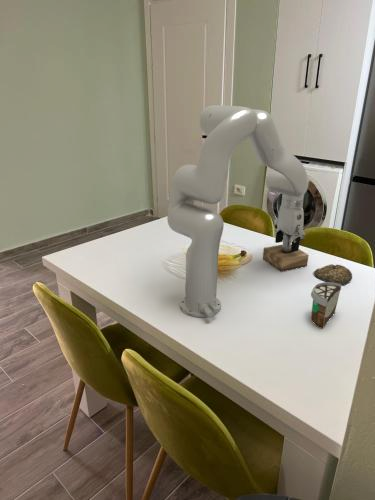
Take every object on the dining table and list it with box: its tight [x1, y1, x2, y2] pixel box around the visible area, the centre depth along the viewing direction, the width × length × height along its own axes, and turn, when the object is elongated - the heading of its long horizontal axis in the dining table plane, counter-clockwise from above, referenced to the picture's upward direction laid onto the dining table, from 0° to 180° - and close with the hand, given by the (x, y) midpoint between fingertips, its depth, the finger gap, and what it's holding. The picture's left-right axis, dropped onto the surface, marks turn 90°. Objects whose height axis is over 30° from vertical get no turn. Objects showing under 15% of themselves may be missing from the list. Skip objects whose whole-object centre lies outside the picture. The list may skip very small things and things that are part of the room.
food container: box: [310, 281, 342, 329], centre depth 109 cm, size 12×6×10 cm, turn 141°
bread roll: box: [313, 264, 353, 286], centre depth 135 cm, size 13×12×5 cm
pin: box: [281, 232, 293, 254], centre depth 143 cm, size 3×3×11 cm
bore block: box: [262, 244, 309, 273], centre depth 145 cm, size 12×12×5 cm
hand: (286, 246), depth 143 cm, fingers open, 9 cm apart
